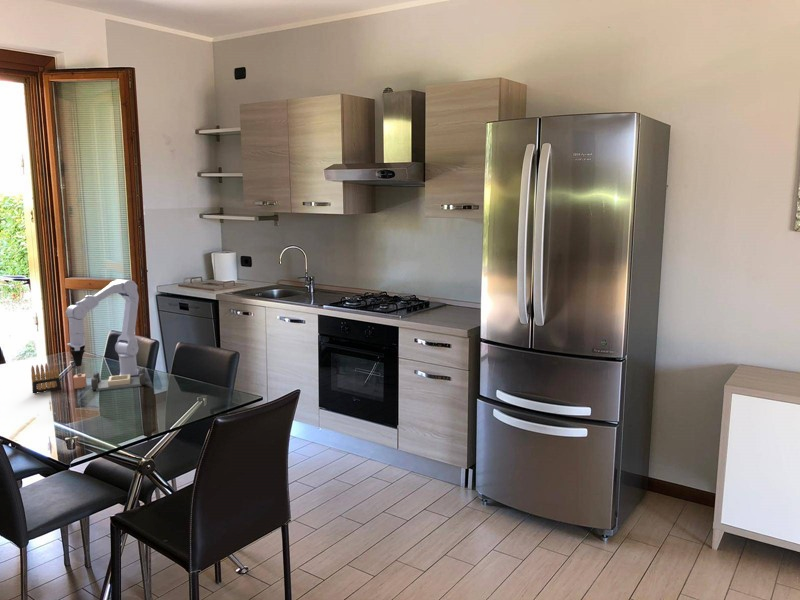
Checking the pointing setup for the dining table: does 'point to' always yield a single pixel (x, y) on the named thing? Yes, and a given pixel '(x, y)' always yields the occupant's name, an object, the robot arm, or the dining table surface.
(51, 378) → the ammunition clip
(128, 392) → the dining table surface
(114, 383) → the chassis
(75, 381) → the block
